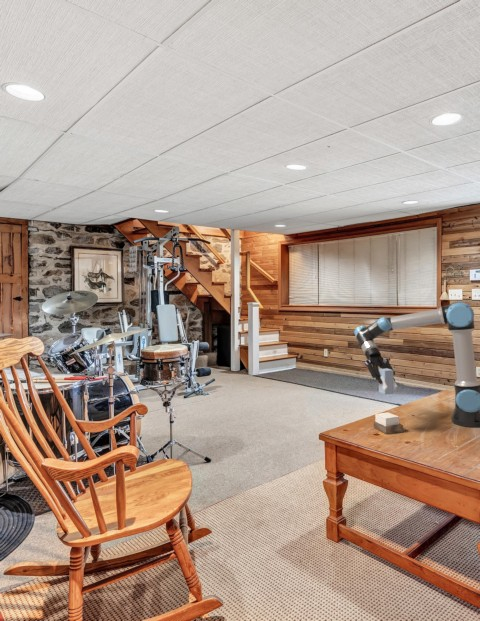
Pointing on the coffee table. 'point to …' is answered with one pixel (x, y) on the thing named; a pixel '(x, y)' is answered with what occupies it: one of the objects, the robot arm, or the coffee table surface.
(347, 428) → the coffee table surface
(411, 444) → the coffee table surface
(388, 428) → the walnut tower slab
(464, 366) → the robot arm
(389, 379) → the slate-blue pillar
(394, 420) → the cream tower block
